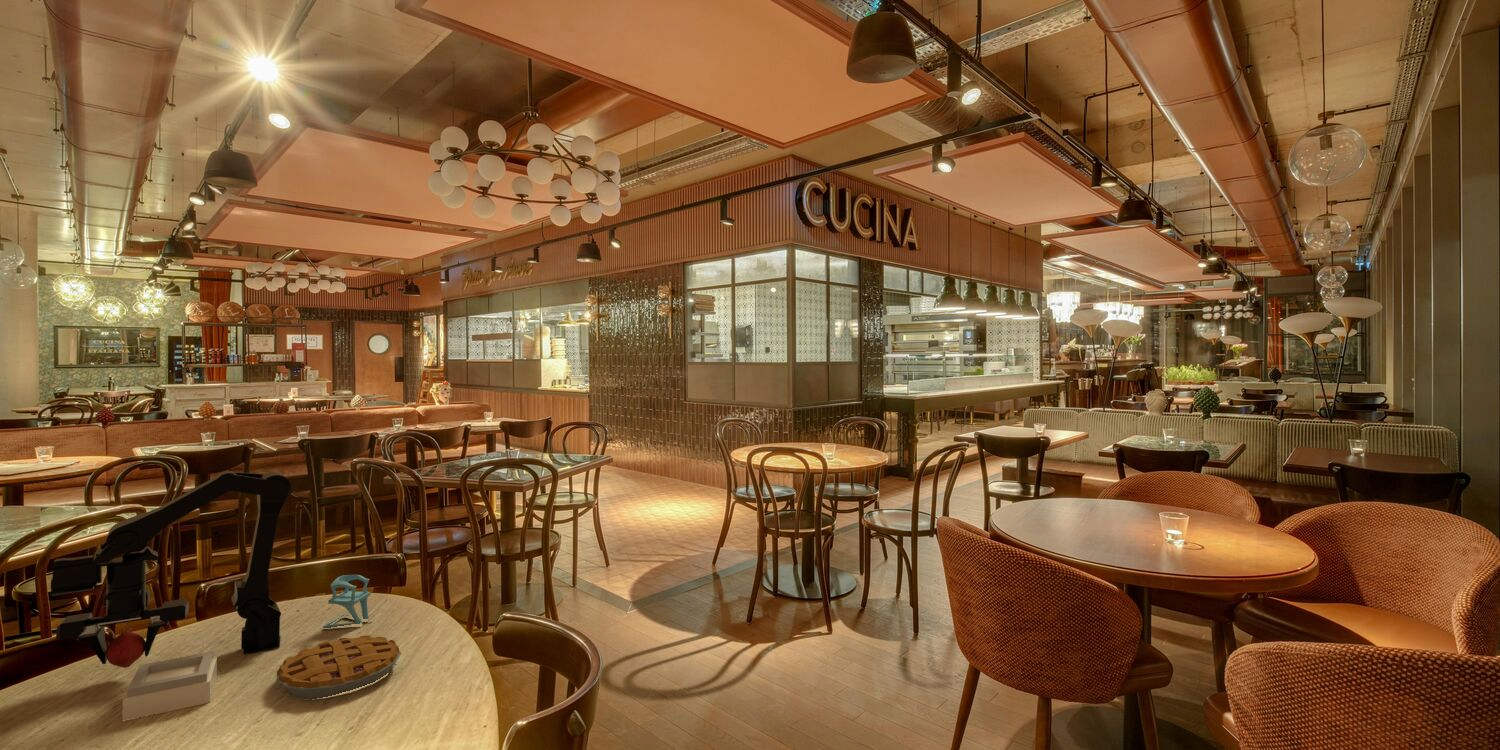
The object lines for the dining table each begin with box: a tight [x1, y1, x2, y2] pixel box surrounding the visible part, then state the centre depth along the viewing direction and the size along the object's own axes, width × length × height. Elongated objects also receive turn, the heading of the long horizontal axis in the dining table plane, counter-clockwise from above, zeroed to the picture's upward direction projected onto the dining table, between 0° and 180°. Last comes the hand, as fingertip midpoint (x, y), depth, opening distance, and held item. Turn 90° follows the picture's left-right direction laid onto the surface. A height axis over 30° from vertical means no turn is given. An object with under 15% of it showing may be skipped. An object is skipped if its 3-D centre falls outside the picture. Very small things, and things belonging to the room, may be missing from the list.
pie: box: [276, 634, 402, 701], centre depth 132 cm, size 22×22×5 cm
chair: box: [322, 574, 371, 629], centre depth 157 cm, size 8×8×12 cm
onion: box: [106, 627, 146, 669], centre depth 129 cm, size 6×6×8 cm
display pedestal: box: [122, 651, 218, 721], centre depth 122 cm, size 12×12×6 cm
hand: (126, 659), depth 129 cm, fingers closed on onion, 6 cm apart
